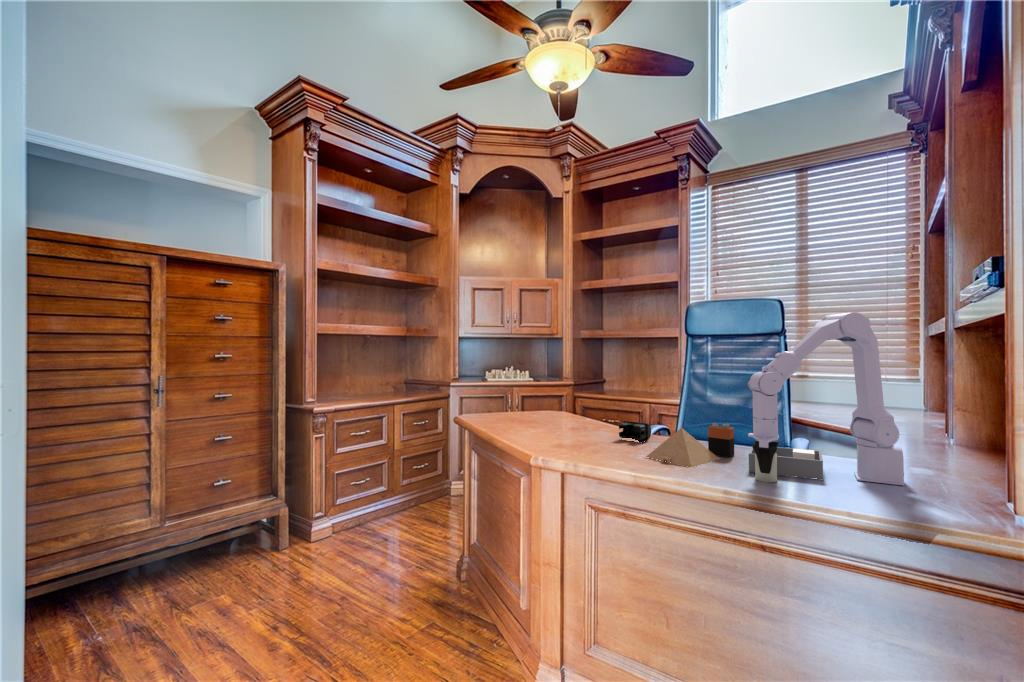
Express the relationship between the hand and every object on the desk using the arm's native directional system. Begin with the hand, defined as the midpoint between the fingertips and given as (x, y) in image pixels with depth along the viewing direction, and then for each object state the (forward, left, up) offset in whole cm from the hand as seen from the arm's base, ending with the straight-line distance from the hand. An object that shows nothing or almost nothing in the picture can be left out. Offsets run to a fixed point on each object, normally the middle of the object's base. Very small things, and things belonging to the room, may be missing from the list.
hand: (766, 470), depth 123 cm
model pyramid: (+24, -13, -3) cm, 28 cm away
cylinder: (0, 0, -2) cm, 2 cm away
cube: (-8, -13, -2) cm, 16 cm away
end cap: (+45, -34, -3) cm, 56 cm away
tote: (-4, -13, -2) cm, 14 cm away
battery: (+14, -24, -3) cm, 28 cm away
